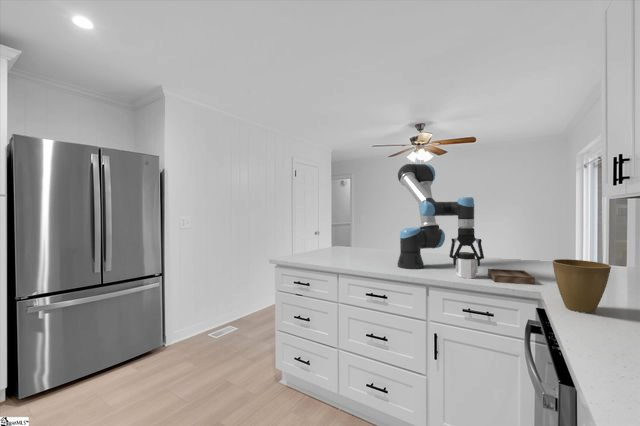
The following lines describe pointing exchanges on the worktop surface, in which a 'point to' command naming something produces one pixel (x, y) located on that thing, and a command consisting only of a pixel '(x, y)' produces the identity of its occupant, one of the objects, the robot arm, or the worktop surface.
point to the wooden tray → (511, 276)
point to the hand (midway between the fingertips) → (466, 272)
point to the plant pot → (581, 283)
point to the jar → (466, 265)
